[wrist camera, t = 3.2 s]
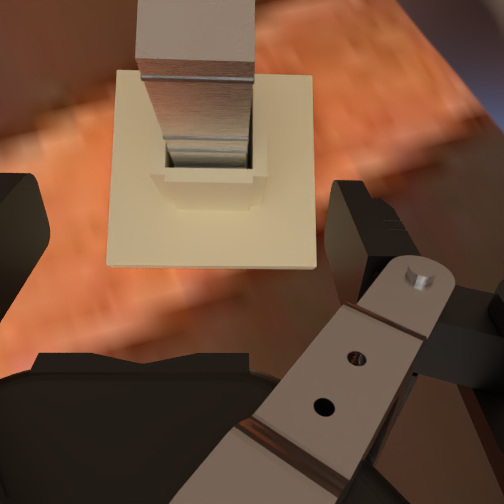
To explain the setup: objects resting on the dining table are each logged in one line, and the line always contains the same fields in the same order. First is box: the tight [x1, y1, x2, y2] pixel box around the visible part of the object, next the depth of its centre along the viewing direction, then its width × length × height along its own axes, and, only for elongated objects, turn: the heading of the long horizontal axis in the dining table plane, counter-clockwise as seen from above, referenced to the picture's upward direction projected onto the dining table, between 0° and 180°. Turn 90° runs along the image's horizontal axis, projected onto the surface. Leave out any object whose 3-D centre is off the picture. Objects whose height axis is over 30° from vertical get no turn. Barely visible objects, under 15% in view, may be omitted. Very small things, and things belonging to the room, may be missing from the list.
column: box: [135, 0, 255, 169], centre depth 22 cm, size 4×4×15 cm
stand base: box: [106, 70, 317, 269], centre depth 28 cm, size 14×14×8 cm
